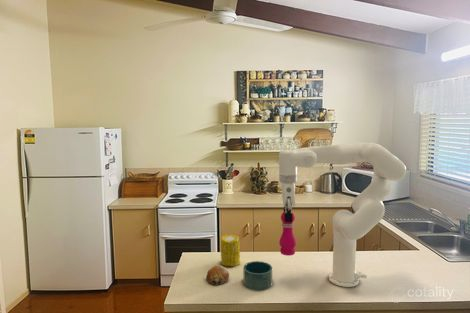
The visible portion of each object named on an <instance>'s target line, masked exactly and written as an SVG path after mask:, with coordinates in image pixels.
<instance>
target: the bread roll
mask: <svg viewBox="0 0 470 313" xmlns="http://www.w3.org/2000/svg"><path fill="white" fill-rule="evenodd" d="M229 277H230V273H229V271H228V269H227V268H225V267H224V265H218V264H217V265H213V266H212V267H211V268H209V269H208V271H207V273H206V281H207V282H208V284H211V285H215V286H219V285H223V284H226V283H227V282H228V281H229Z"/></svg>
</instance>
